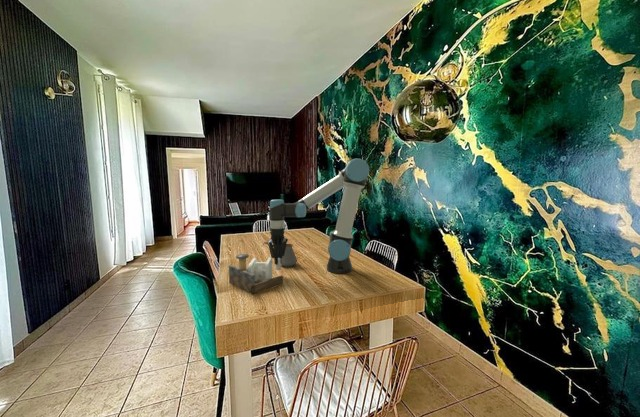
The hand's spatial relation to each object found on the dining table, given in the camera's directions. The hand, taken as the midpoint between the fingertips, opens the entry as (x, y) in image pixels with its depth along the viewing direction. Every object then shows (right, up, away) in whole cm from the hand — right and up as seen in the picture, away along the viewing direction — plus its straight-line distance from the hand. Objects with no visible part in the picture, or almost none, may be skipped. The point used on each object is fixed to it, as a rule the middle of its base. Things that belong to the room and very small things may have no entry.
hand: (278, 269), depth 145 cm
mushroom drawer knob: (-22, -3, +6) cm, 23 cm away
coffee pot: (-2, -2, +20) cm, 20 cm away
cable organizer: (-8, -5, -9) cm, 13 cm away
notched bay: (-10, -5, -10) cm, 15 cm away
